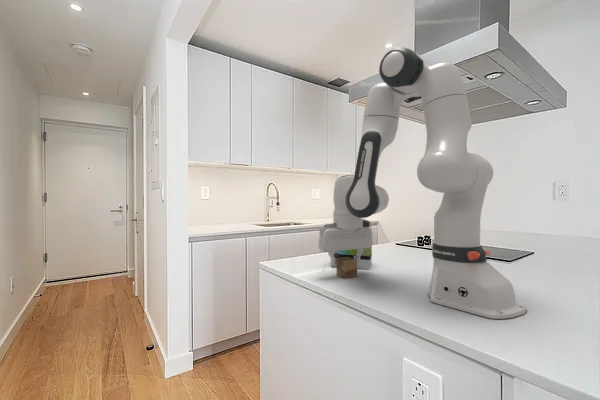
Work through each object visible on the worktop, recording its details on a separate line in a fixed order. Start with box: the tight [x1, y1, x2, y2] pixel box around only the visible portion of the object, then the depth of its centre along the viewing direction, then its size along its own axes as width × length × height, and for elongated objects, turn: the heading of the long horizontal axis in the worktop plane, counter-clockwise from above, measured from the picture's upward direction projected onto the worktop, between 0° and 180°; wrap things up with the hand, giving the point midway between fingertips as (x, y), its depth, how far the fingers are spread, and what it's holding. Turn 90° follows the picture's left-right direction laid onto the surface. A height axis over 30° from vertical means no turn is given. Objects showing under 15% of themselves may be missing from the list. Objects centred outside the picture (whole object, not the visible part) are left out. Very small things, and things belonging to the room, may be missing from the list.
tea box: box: [330, 227, 373, 270], centre depth 122 cm, size 15×10×15 cm, turn 73°
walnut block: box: [335, 257, 358, 280], centre depth 106 cm, size 5×5×6 cm
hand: (345, 262), depth 107 cm, fingers open, 8 cm apart
